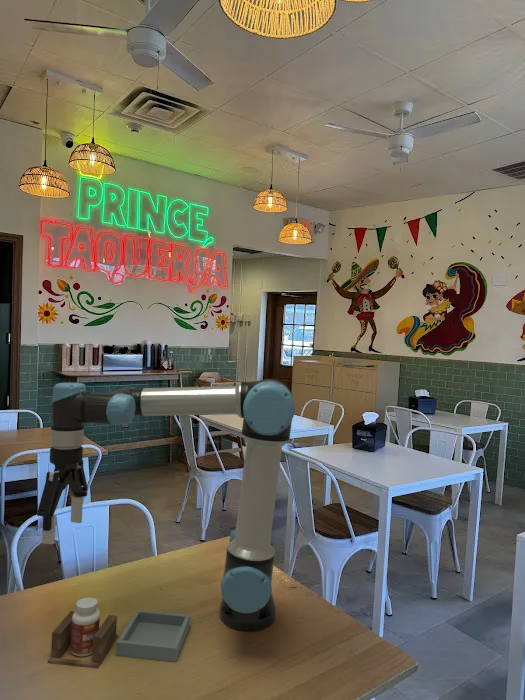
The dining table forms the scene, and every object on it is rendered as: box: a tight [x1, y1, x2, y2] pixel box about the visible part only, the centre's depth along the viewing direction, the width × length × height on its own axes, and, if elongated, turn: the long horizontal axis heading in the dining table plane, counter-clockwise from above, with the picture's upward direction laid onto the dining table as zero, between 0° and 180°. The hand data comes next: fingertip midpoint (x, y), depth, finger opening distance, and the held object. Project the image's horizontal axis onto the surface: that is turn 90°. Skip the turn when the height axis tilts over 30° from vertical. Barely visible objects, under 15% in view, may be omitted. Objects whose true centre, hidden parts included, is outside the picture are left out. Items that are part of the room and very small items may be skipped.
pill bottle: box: [70, 597, 101, 657], centre depth 115 cm, size 6×6×11 cm
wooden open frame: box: [47, 610, 119, 669], centre depth 115 cm, size 12×12×6 cm
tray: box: [115, 609, 191, 663], centre depth 120 cm, size 14×14×3 cm
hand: (63, 532), depth 121 cm, fingers open, 13 cm apart
